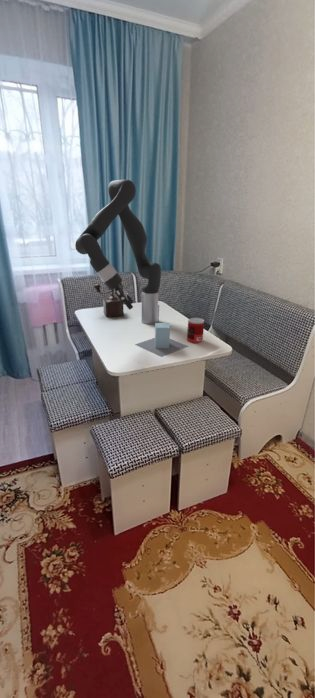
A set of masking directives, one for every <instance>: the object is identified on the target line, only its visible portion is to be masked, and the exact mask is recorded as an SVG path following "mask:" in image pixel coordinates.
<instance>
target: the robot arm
mask: <svg viewBox="0 0 315 698" xmlns="http://www.w3.org/2000/svg"><path fill="white" fill-rule="evenodd" d="M136 190H137V189H136V185H135V183H134V182H133V181H132V180H130V179H117V180H115V179H114V180H112V181H110V182H109V184H108V195H109V196H108V197H109V198H110V200H111V202H109V203H108V204H107V205H105V206H104V207H103V208H101V209H100V210H99V211H98V212H97V213H96V214H95V215H94V217H93V218H92V219H91V221H90V223H89V224H88V226H87V227H86V228H85V230H84V231H82V233H81V234H80V236H78V238H77V239H76V241H75V243H74V244H75V249H76V251H77V253H78V254H80V255H88V257H89V259H90V261H89V264H90V266H91V267H92V268H93V270H94V271H95V272H96V274H97V275H98V277H99V279H101V281H102V282H103V284H104V285H105V286H106V288H107V289H108V291H111V290H112V289H114V294H115V296H116V297H118V298H119V299H120V300H121V302H122V303H123V304H124V305H125V306H126V307H127V310H131V309H133V308H134V306H133V303H134V300H133V299H132V297H131V296H130V294H129V291H127V289H126V288H125V287H124V285H123V284H122V282H123V278H122V277H121V275H120V273H118V271H117V270H116V268H115V267H114V265H112V264H111V263H110V261H109V259H107V257H106V256H105V255H104V253H103V250H102V248H101V246H100V244H99V242H98V240H99V239H100V238H101V237H102V236H103V235H104V233H106V231H107V230H108V228H109V227H110V226H111V224H112V222H113V221H114V220H115V219H116V218H117V217H119V219H120V221H121V224H122V227H123V230H124V232H125V235H126V237H127V240H128V243H129V245H130V247H131V250H132V254H133V256H134V258H135V259H134V260H135V263H136V267H137V271H138V274H139V275H140V277H141V278H143V279H146V280H148V281H147V284H145V285H143V286H141V323H143V324H146V325H153V324H154V325H155V323H159V321H160V304H159V290H160V287H161V279H162V277H161V276H162V268H161V265H160V264H159V263H158V262H153V261H149V259H148V257H147V255H146V248H147V247H146V246H147V243H148V236H147V232H146V231H145V227H144V225H143V223H142V222H141V220H140V219H139V218H138V217H137V216H136V215H135V214H134V213H133V212H132V210H131V208H130V206H129V204H131V202H132V201H133V200H134V199H135V196H136V192H137V191H136Z"/></svg>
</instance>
